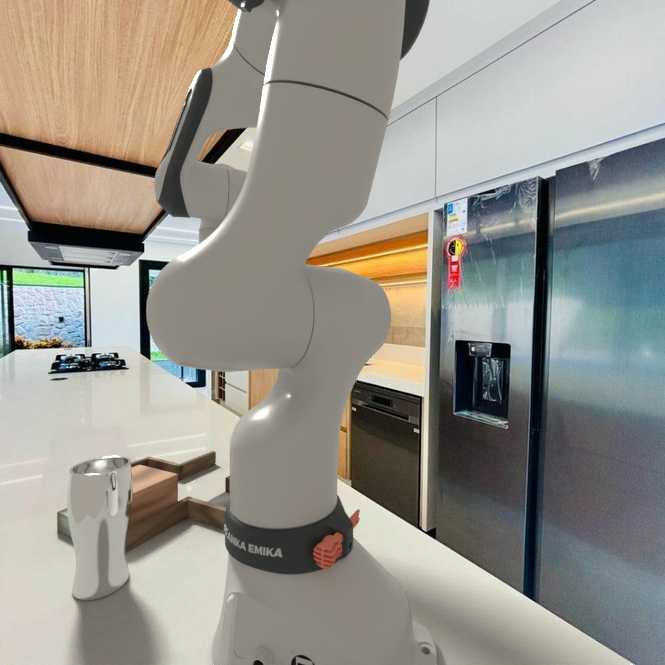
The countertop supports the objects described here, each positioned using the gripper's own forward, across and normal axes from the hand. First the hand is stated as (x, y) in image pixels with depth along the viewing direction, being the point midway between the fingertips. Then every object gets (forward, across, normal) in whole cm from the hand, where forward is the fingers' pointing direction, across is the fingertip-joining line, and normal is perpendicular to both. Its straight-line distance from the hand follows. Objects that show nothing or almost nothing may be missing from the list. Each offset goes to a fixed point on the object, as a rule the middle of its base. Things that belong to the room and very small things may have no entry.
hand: (221, 314), depth 77 cm
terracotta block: (+35, -2, -18) cm, 40 cm away
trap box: (+35, -2, -9) cm, 36 cm away
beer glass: (+35, +9, -30) cm, 47 cm away
